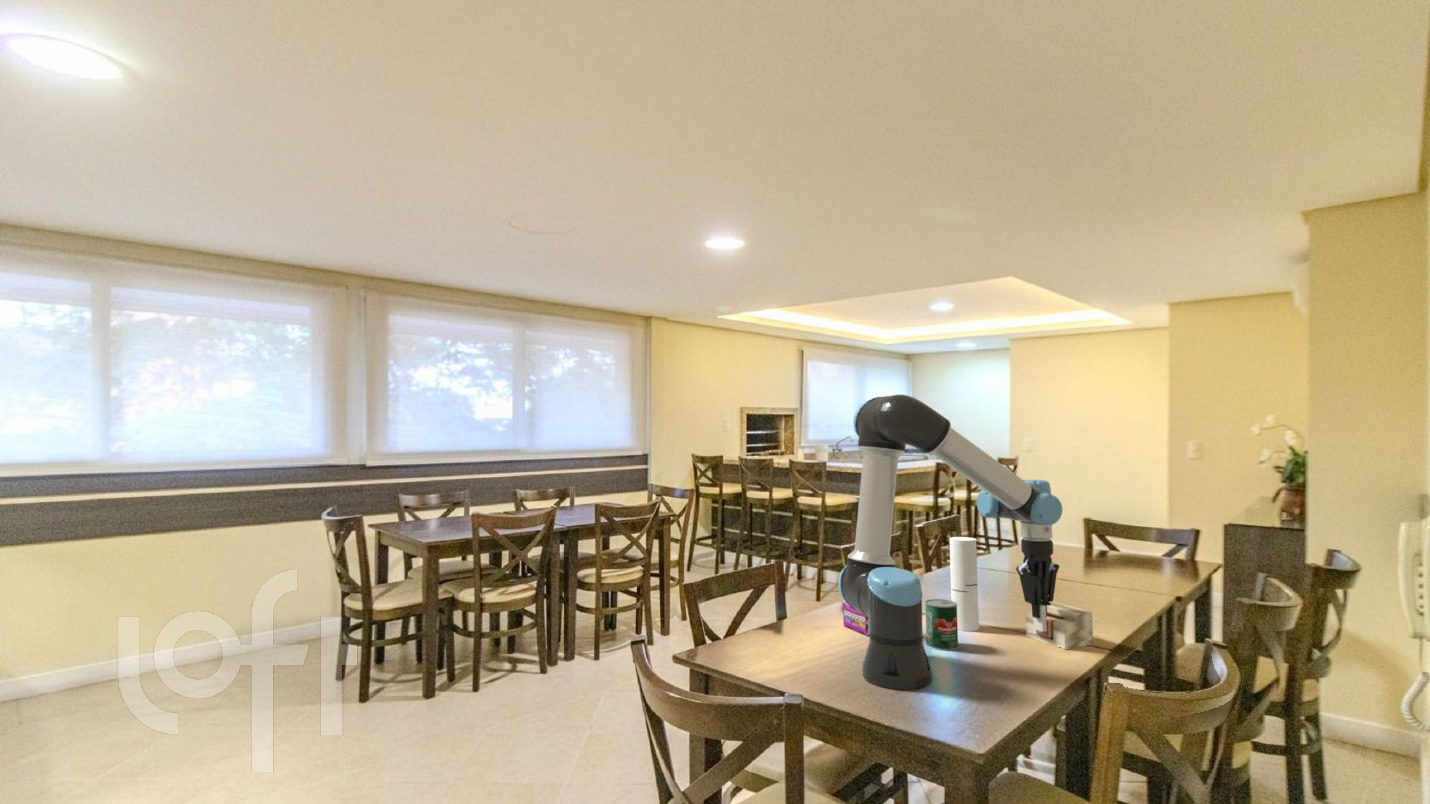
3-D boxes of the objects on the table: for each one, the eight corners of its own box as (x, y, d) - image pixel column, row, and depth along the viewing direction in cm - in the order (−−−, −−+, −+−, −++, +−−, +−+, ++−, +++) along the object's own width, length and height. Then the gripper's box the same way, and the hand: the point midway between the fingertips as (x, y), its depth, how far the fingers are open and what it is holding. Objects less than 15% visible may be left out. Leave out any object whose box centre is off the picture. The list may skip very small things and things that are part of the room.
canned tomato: (946, 652, 164) (945, 608, 164) (919, 644, 170) (918, 602, 171) (964, 646, 168) (963, 603, 169) (938, 639, 175) (937, 597, 175)
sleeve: (1065, 649, 165) (1063, 616, 165) (1026, 636, 176) (1025, 605, 176) (1093, 644, 169) (1091, 611, 169) (1053, 632, 180) (1052, 601, 180)
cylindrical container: (983, 631, 181) (980, 540, 182) (957, 631, 181) (954, 540, 183) (973, 624, 188) (970, 536, 190) (948, 624, 188) (946, 537, 190)
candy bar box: (881, 634, 180) (880, 573, 180) (867, 636, 177) (865, 575, 178) (856, 623, 190) (855, 566, 191) (842, 625, 188) (841, 568, 189)
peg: (1048, 637, 168) (1048, 621, 169) (1036, 633, 172) (1035, 618, 172) (1076, 633, 172) (1076, 617, 172) (1063, 629, 176) (1063, 614, 176)
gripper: (1029, 542, 165) (1033, 637, 164) (1067, 539, 170) (1070, 630, 169) (1006, 538, 172) (1010, 629, 171) (1043, 535, 177) (1046, 623, 176)
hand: (1040, 629), depth 170 cm, fingers closed
